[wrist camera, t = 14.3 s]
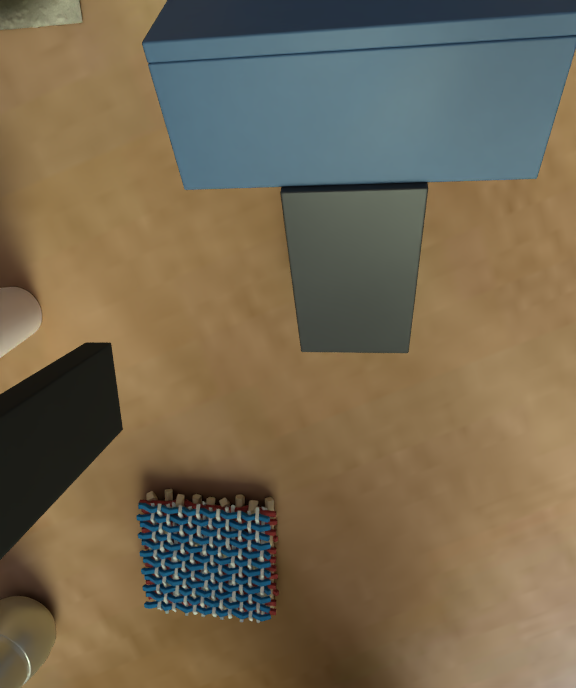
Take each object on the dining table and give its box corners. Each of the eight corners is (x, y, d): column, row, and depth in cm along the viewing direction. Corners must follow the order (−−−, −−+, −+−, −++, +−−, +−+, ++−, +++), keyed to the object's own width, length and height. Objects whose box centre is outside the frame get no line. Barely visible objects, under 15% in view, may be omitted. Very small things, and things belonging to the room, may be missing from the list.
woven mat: (280, 610, 43) (276, 630, 41) (152, 596, 44) (143, 615, 42) (280, 496, 40) (276, 512, 38) (143, 484, 41) (132, 499, 39)
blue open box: (138, 47, 15) (229, 351, 26) (590, 15, 14) (487, 354, 24) (214, -80, 23) (260, 196, 34) (510, -110, 21) (458, 191, 32)
